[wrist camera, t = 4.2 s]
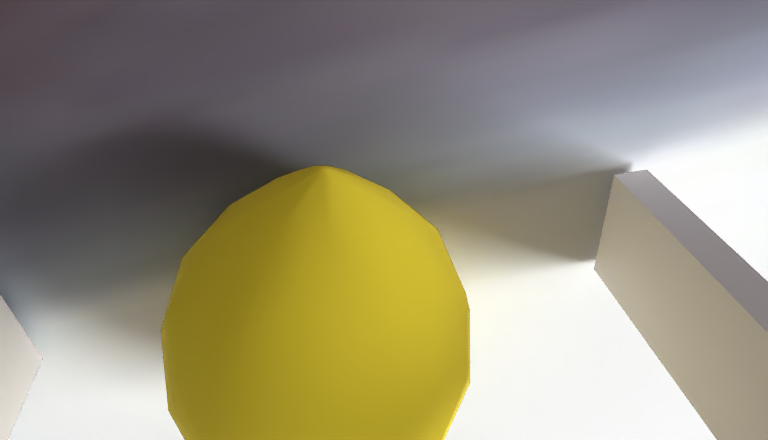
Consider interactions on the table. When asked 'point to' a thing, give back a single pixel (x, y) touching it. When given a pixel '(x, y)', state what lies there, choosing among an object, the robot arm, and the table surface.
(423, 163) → the table surface
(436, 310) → the lemon
